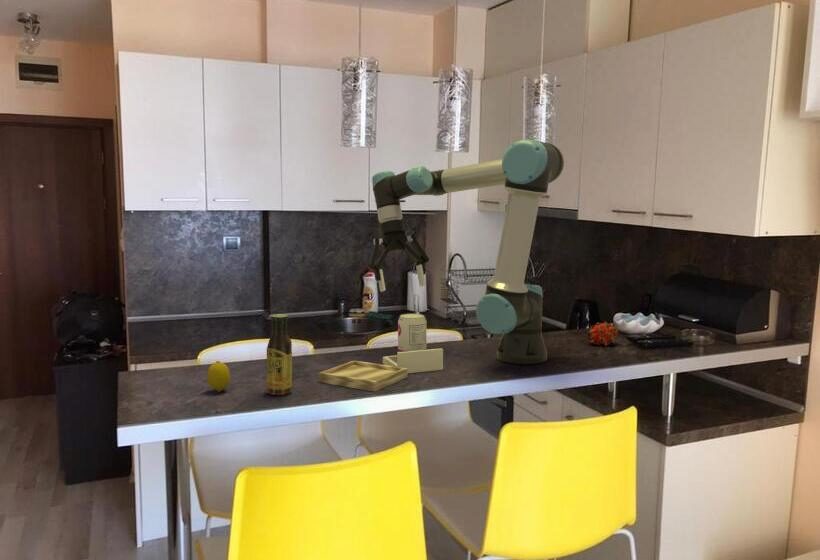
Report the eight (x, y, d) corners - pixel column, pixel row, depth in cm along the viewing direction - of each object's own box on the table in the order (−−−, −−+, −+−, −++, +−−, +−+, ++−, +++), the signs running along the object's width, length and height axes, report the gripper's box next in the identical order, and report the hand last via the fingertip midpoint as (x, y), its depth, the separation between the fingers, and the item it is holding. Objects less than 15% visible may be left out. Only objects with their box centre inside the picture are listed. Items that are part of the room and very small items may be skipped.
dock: (424, 359, 201) (424, 339, 201) (442, 369, 189) (443, 349, 188) (382, 363, 197) (382, 343, 196) (398, 374, 184) (398, 353, 183)
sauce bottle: (261, 394, 166) (259, 315, 163) (279, 388, 171) (277, 312, 168) (280, 398, 162) (278, 318, 160) (298, 392, 167) (296, 314, 165)
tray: (407, 377, 181) (407, 368, 181) (374, 391, 167) (374, 382, 167) (353, 368, 190) (353, 360, 190) (318, 382, 176) (318, 372, 176)
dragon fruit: (621, 348, 223) (589, 356, 219) (607, 330, 228) (577, 337, 225) (628, 331, 217) (596, 339, 213) (614, 313, 222) (583, 320, 219)
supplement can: (395, 369, 190) (394, 317, 188) (402, 362, 198) (402, 312, 196) (422, 370, 188) (422, 318, 186) (428, 363, 196) (428, 313, 194)
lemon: (210, 389, 170) (209, 358, 169) (232, 388, 170) (231, 358, 169) (205, 395, 165) (204, 363, 164) (228, 394, 165) (226, 363, 164)
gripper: (421, 221, 215) (433, 285, 213) (349, 227, 204) (361, 295, 202) (431, 215, 208) (443, 281, 206) (358, 221, 197) (370, 291, 195)
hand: (403, 288), depth 204 cm, fingers open, 13 cm apart
